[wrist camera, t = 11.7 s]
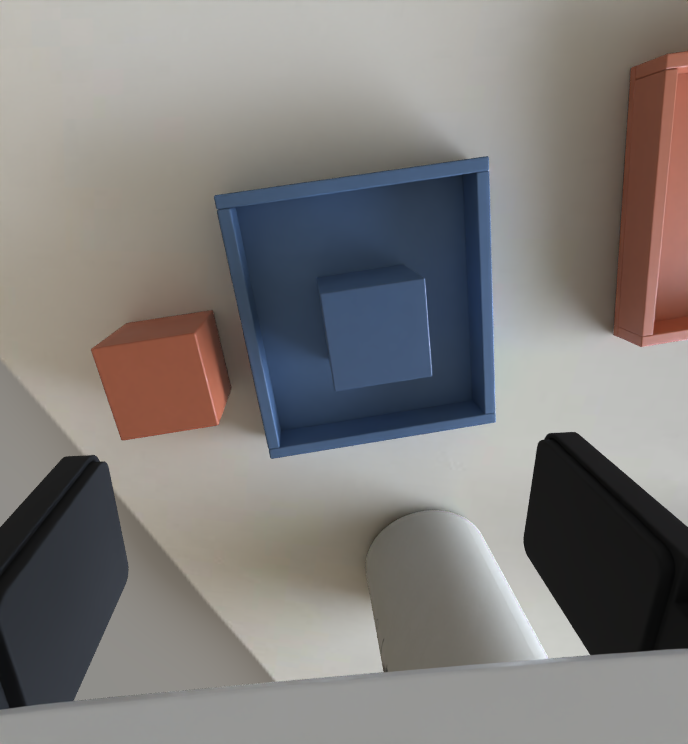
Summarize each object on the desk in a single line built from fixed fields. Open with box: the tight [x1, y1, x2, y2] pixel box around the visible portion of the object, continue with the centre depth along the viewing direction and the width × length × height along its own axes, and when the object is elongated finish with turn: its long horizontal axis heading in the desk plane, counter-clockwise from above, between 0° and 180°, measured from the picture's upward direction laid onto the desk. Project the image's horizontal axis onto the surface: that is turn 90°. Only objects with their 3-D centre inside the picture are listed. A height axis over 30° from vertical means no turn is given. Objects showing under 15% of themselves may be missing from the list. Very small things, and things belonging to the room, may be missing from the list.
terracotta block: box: [91, 310, 231, 440], centre depth 23 cm, size 4×4×4 cm
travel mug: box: [365, 510, 549, 672], centre depth 23 cm, size 8×8×18 cm
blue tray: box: [214, 156, 496, 459], centre depth 24 cm, size 13×12×2 cm
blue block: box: [317, 264, 432, 391], centre depth 23 cm, size 4×4×4 cm
